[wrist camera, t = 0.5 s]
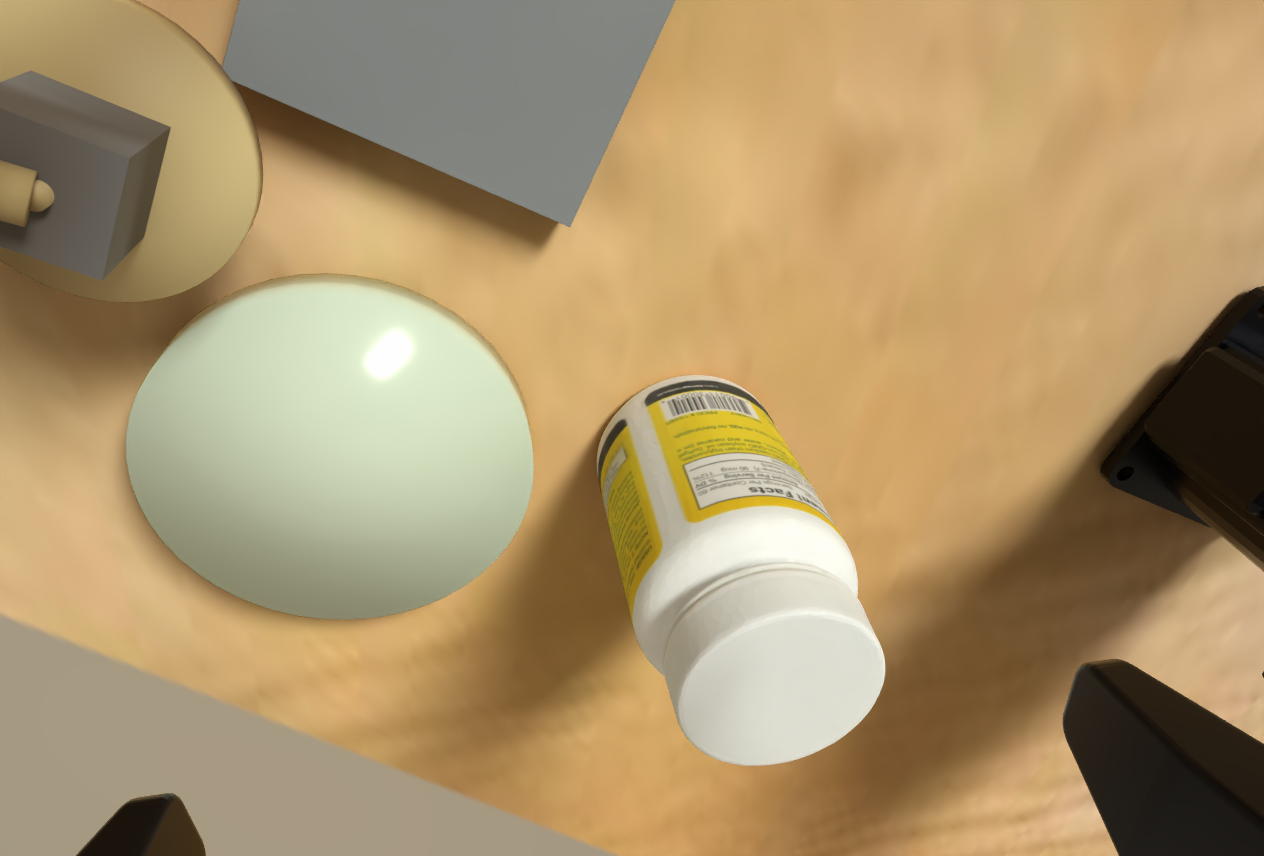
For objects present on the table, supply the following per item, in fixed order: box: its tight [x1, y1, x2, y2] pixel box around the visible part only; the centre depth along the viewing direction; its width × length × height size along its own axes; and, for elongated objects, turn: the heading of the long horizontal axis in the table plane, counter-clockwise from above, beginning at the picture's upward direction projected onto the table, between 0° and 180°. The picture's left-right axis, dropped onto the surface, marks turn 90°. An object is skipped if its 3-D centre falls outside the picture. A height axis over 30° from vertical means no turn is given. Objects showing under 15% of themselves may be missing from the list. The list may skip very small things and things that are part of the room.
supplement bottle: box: [597, 375, 885, 766], centre depth 19 cm, size 5×5×8 cm
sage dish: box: [126, 273, 534, 620], centre depth 21 cm, size 9×9×1 cm
